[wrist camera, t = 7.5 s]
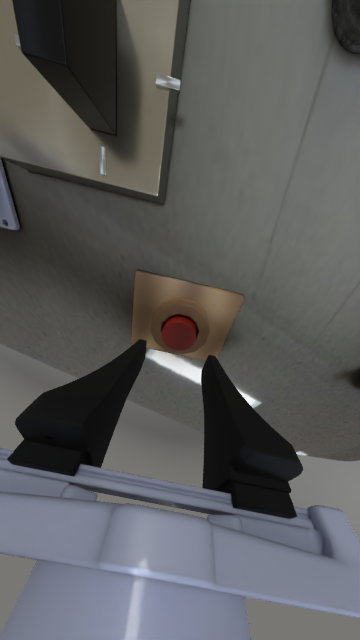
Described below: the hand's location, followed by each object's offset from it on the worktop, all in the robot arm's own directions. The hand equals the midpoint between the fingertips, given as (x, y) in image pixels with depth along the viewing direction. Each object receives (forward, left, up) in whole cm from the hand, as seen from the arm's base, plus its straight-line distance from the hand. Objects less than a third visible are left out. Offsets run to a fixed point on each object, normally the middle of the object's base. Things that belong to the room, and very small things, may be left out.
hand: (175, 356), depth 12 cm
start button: (0, 0, -4) cm, 4 cm away
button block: (0, 0, -6) cm, 6 cm away
